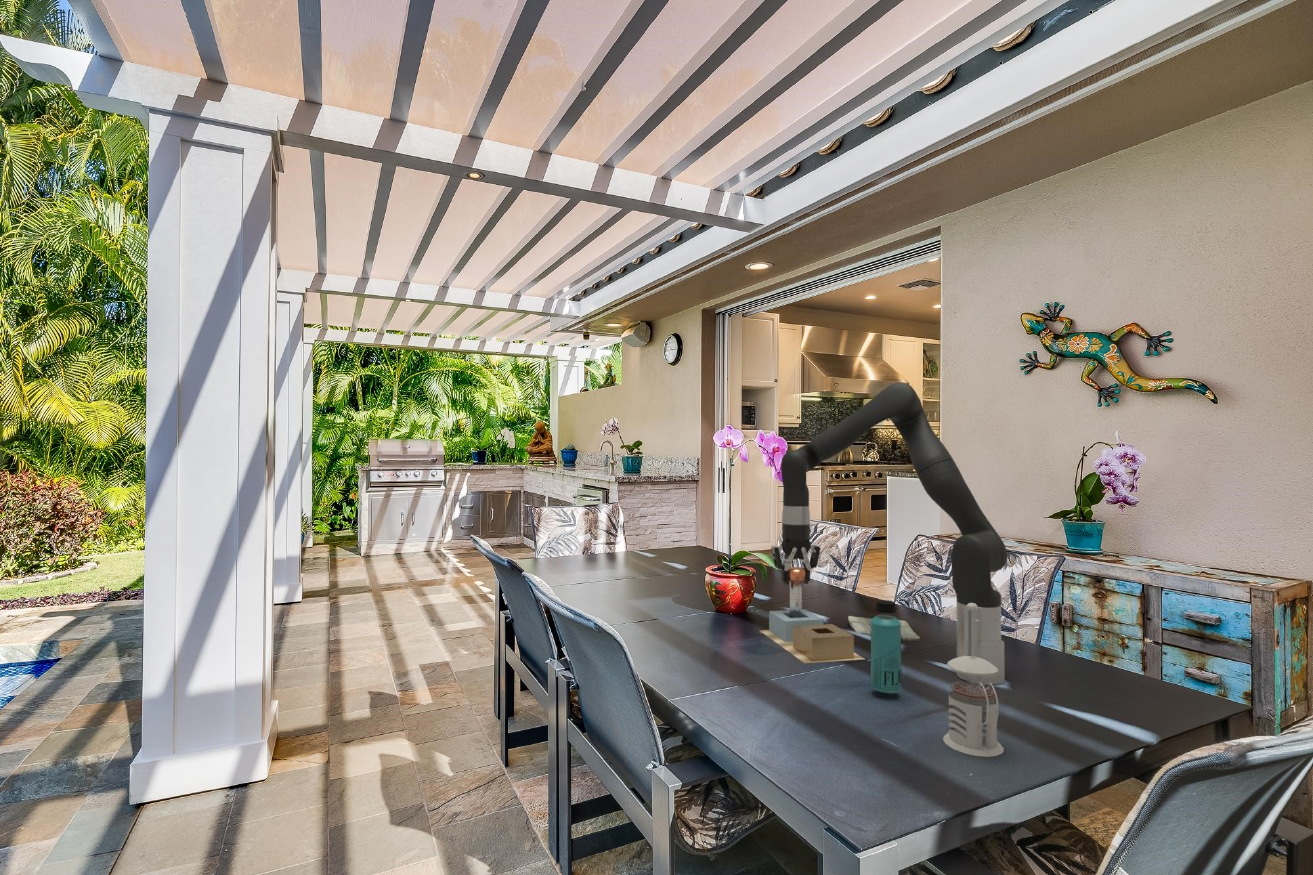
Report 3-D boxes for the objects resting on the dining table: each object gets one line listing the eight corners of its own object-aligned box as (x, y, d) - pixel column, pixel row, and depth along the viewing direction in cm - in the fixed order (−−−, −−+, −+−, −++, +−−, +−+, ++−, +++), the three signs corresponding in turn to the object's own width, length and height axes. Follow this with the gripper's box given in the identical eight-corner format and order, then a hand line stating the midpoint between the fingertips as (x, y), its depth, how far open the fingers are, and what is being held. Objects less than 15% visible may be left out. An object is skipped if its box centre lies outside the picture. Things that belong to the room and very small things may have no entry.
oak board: (865, 665, 158) (865, 659, 158) (804, 669, 154) (804, 663, 154) (811, 632, 186) (811, 627, 186) (759, 635, 182) (759, 630, 182)
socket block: (823, 639, 174) (823, 619, 174) (785, 642, 171) (785, 621, 171) (805, 628, 184) (805, 609, 185) (769, 630, 182) (769, 611, 182)
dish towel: (922, 644, 177) (922, 632, 177) (855, 640, 180) (855, 629, 180) (907, 626, 196) (907, 615, 196) (846, 623, 199) (846, 613, 199)
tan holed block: (853, 658, 158) (853, 635, 158) (812, 661, 156) (812, 638, 156) (832, 645, 169) (832, 624, 169) (793, 647, 166) (793, 626, 167)
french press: (984, 731, 120) (984, 596, 121) (1022, 761, 109) (1021, 612, 109) (933, 732, 120) (932, 596, 120) (965, 761, 108) (964, 612, 109)
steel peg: (808, 625, 176) (808, 569, 176) (790, 626, 175) (790, 570, 175) (800, 620, 181) (800, 566, 181) (783, 621, 180) (783, 567, 180)
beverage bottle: (881, 702, 134) (881, 605, 135) (863, 690, 141) (863, 598, 141) (908, 699, 136) (908, 603, 136) (889, 688, 142) (889, 596, 143)
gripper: (777, 524, 173) (776, 587, 173) (826, 523, 176) (826, 585, 176) (766, 521, 181) (766, 581, 180) (813, 520, 184) (813, 580, 183)
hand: (795, 583), depth 178 cm, fingers closed on steel peg, 5 cm apart
